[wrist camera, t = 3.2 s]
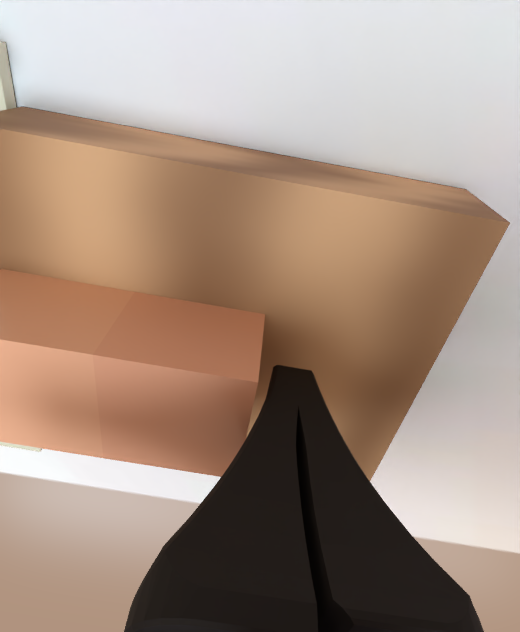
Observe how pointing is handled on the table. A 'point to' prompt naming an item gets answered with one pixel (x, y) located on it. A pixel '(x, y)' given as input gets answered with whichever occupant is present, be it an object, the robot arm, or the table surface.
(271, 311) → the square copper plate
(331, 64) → the table surface
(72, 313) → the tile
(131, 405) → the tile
